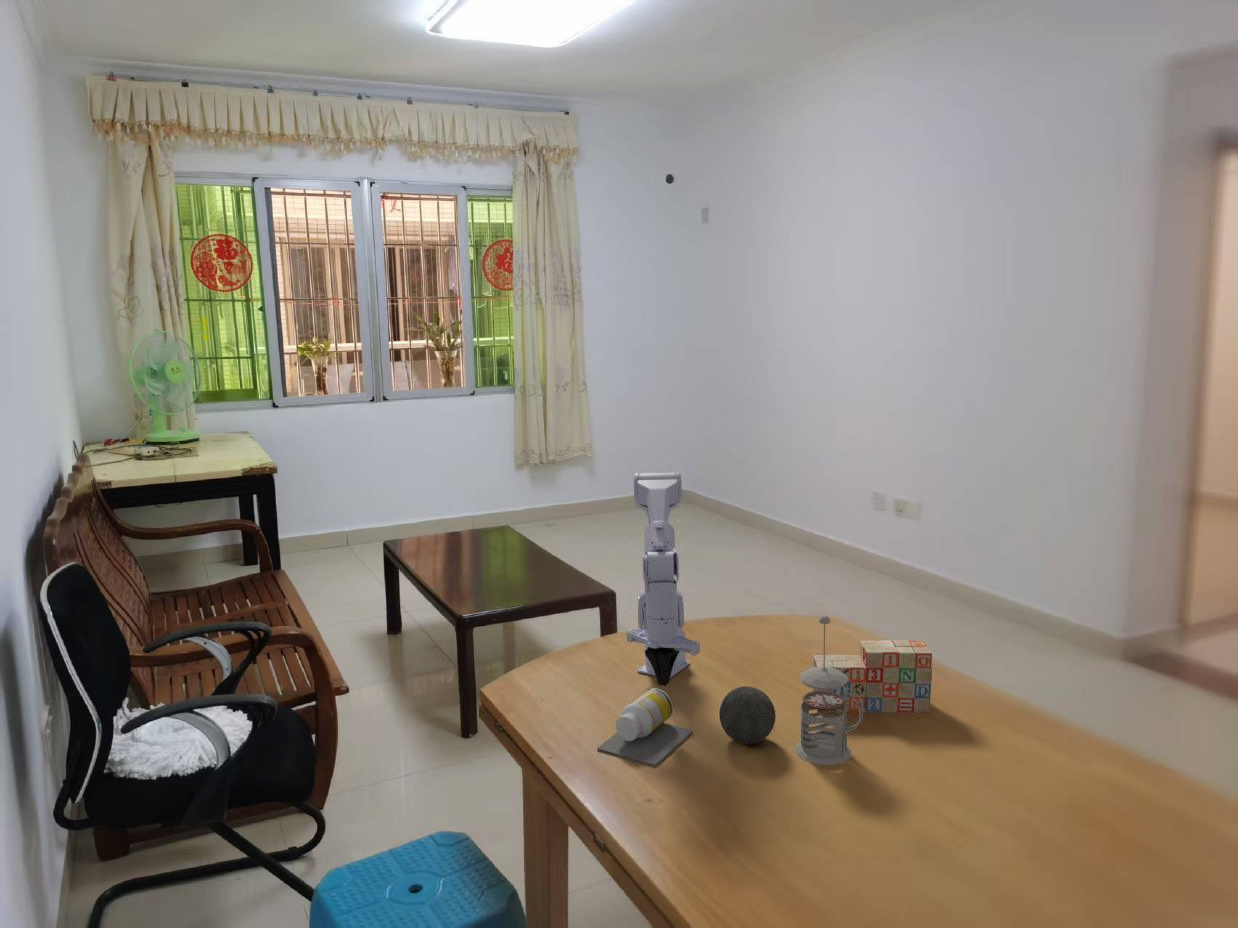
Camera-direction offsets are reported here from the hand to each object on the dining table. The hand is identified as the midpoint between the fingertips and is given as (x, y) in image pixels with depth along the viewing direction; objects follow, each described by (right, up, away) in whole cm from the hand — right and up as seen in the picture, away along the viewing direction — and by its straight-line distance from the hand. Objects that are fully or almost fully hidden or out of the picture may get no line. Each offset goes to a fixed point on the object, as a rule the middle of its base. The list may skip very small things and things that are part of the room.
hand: (663, 683), depth 166 cm
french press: (+28, -10, -10) cm, 32 cm away
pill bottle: (-1, -4, +3) cm, 5 cm away
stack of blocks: (+41, -6, +7) cm, 42 cm away
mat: (-3, -9, -4) cm, 11 cm away
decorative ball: (+15, -9, -5) cm, 18 cm away
